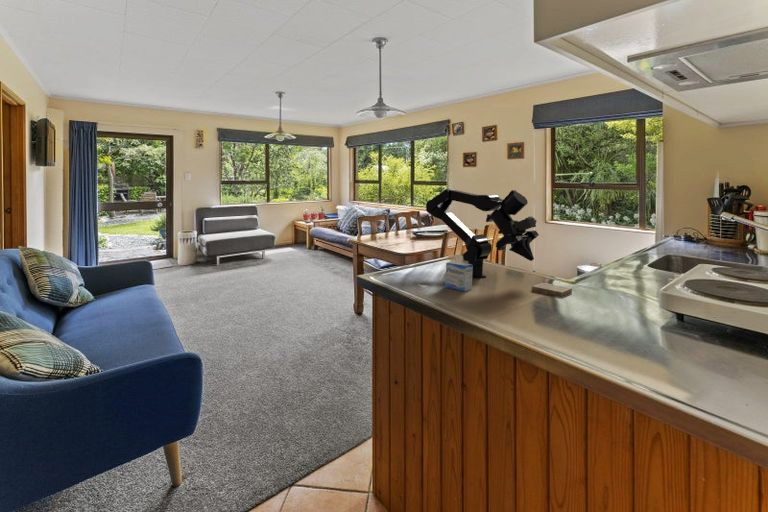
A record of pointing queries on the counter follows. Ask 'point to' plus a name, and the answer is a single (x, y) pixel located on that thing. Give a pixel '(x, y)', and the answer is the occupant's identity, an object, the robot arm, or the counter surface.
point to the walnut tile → (552, 289)
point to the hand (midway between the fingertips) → (532, 260)
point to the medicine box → (458, 276)
